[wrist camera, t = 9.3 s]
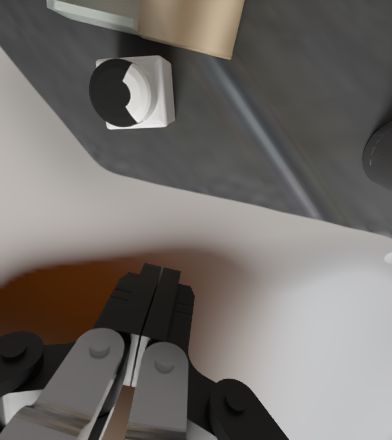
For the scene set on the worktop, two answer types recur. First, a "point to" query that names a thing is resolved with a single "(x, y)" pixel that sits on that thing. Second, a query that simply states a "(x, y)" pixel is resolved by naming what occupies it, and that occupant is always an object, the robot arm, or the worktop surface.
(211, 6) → the wooden slab
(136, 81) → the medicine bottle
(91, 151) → the worktop surface
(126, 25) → the box
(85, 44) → the worktop surface
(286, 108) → the worktop surface
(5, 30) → the worktop surface
